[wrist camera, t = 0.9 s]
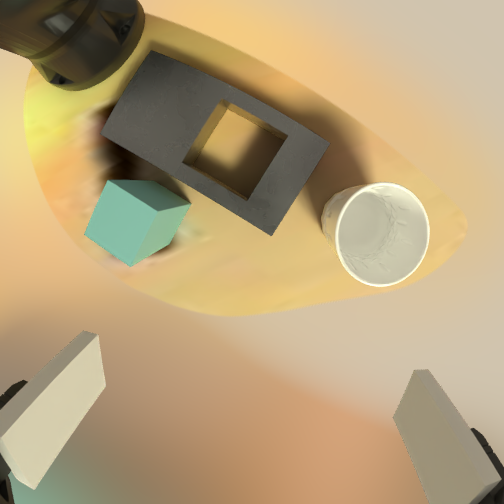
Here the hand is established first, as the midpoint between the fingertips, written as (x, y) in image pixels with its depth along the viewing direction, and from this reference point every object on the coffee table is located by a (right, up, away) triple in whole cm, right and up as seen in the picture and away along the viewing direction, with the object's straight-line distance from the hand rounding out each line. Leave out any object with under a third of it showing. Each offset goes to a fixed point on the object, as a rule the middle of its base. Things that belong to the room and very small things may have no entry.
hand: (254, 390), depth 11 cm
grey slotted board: (-4, +17, +19) cm, 26 cm away
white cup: (+10, +9, +20) cm, 24 cm away
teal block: (-10, +10, +21) cm, 25 cm away
